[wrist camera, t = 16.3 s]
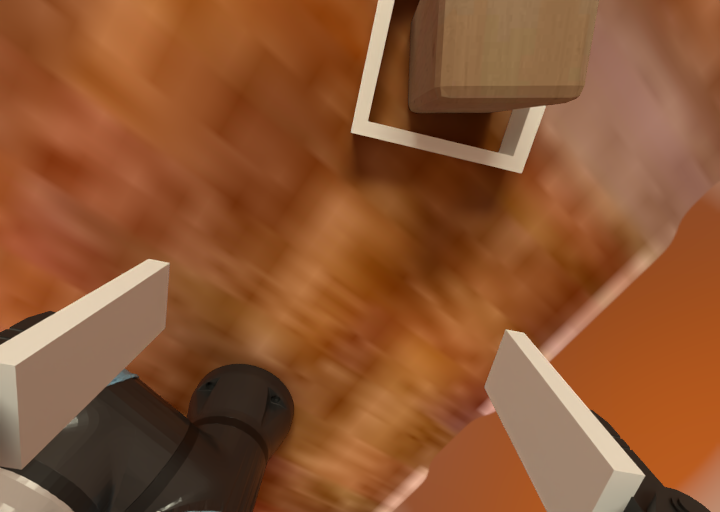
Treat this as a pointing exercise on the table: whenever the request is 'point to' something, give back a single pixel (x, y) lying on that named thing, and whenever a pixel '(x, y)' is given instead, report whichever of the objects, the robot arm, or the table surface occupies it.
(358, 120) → the box
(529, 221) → the table surface
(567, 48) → the wooden block
